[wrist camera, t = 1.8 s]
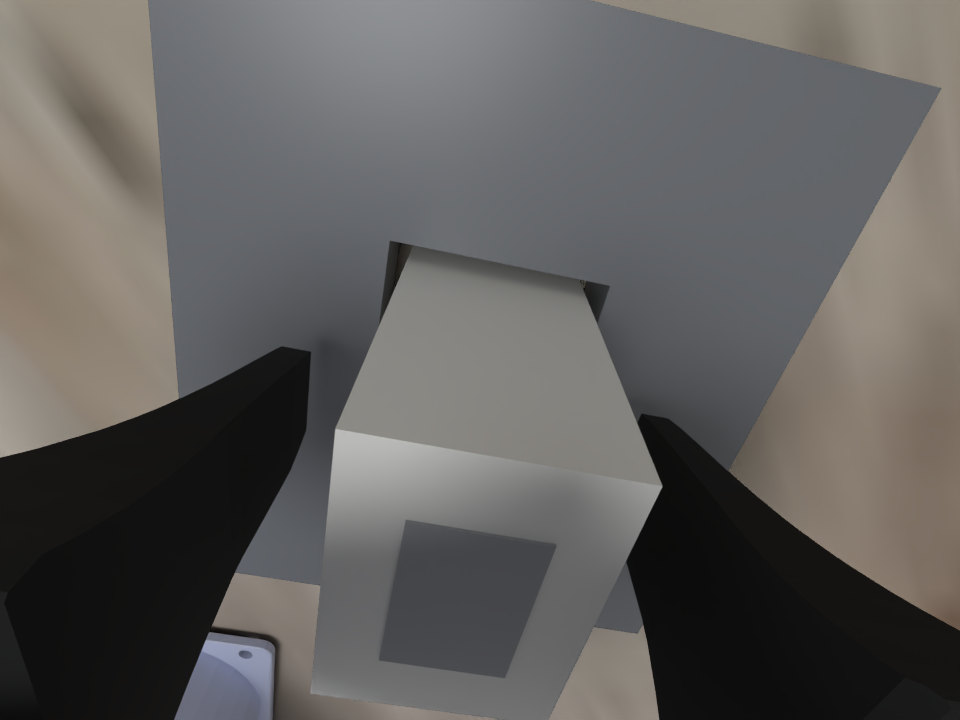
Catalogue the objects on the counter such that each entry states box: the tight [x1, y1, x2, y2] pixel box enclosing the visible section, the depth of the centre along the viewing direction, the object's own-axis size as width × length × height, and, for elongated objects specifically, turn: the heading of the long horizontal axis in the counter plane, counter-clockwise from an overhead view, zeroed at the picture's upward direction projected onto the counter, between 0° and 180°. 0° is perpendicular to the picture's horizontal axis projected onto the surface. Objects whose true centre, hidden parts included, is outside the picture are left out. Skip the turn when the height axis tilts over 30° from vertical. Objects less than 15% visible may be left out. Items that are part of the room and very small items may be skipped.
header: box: [148, 0, 941, 633], centre depth 14 cm, size 14×16×2 cm
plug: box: [310, 245, 662, 720], centre depth 11 cm, size 4×6×8 cm
